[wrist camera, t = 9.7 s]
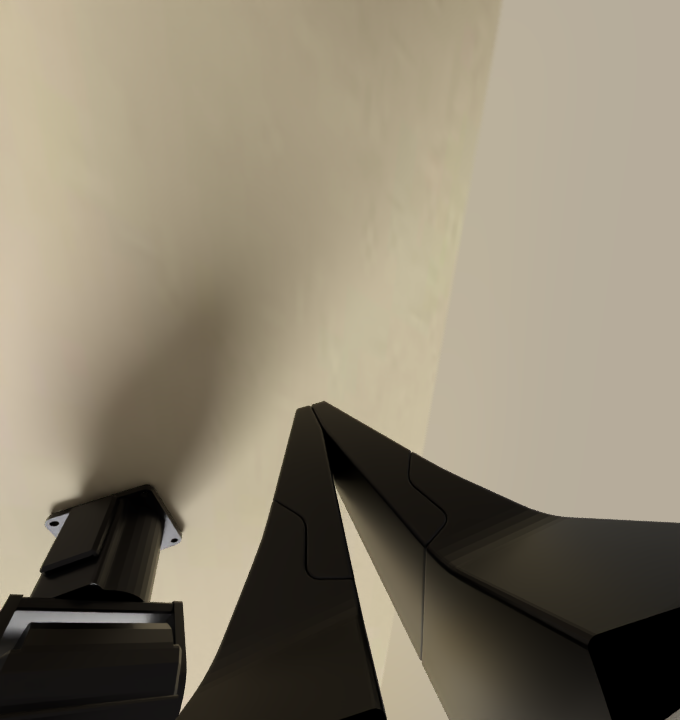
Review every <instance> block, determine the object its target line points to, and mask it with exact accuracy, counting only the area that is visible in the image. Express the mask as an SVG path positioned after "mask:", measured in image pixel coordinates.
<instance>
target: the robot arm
mask: <svg viewBox="0 0 680 720" xmlns="http://www.w3.org/2000/svg"><path fill="white" fill-rule="evenodd" d="M334 484H335V485H334ZM335 486H336V488H337V491H338V493H339V495H340V497H341V499H342V501H343V503H344V505H345V507H346V509H347V511H348V513H349V515H350V517H351V519H352V521H353V523H354V525H355V527H356V529H357V532H358V534H359V536H360V538H361V540H362V542H363V544H364V546H365V548H366V550H367V552H368V554H369V556H370V558H371V560H372V562H373V564H374V566H375V568H376V570H377V572H378V575H379V577H380V579H381V581H382V583H383V585H384V587H385V589H386V591H387V593H388V595H389V597H390V599H391V601H392V603H393V605H394V607H395V609H396V611H397V613H398V616H399V617H400V619H401V622H402V624H403V626H404V628H405V630H406V632H407V634H408V636H409V638H410V640H411V642H412V644H413V646H414V648H415V650H416V652H417V654H418V656H419V659H420V660H421V661H422V665H423V667H424V669H425V671H426V673H427V675H428V677H429V679H430V681H431V683H432V685H433V687H434V689H435V692H436V694H437V696H438V698H439V700H440V702H441V704H442V706H443V708H444V710H445V712H446V714H447V716H448V718H449V720H680V523H671V522H652V521H631V520H613V519H593V518H573V517H561V516H555V515H550V514H546V513H542V512H539V511H536V510H533V509H530V508H528V507H525V506H523V505H521V504H518V503H516V502H514V501H512V500H510V499H507V498H505V497H503V496H501V495H499V494H496V493H494V492H492V491H490V490H488V489H485V488H483V487H481V486H479V485H476V484H474V483H472V482H470V481H468V480H465V479H463V478H461V477H459V476H457V475H455V474H453V473H451V472H449V471H447V470H445V469H443V468H441V467H439V466H437V465H435V464H434V463H432V462H430V461H428V460H426V459H424V458H423V457H421V456H419V455H417V454H416V453H414V452H411V451H410V450H409V449H407V448H405V447H403V446H402V445H400V444H398V443H396V442H395V441H393V440H391V439H389V438H388V437H386V436H384V435H383V434H381V433H379V432H377V431H376V430H374V429H372V428H370V427H369V426H367V425H365V424H364V423H362V422H360V421H358V420H357V419H355V418H353V417H351V416H350V415H348V414H346V413H344V412H343V411H341V410H339V409H338V408H336V407H334V406H332V405H331V404H329V403H327V402H325V401H322V402H319V403H316V404H313V405H312V406H305V407H302V408H298V409H297V410H296V413H295V417H294V421H293V425H292V428H291V432H290V436H289V440H288V444H287V448H286V452H285V455H284V459H283V463H282V467H281V471H280V475H279V479H278V482H277V486H276V490H275V494H274V498H273V502H272V505H271V509H270V513H269V516H268V520H267V523H266V527H265V530H264V533H263V537H262V540H261V543H260V545H259V548H258V551H257V553H256V556H255V559H254V562H253V564H252V567H251V569H250V572H249V574H248V577H247V580H246V582H245V585H244V587H243V590H242V592H241V595H240V597H239V600H238V602H237V605H236V607H235V610H234V612H233V615H232V617H231V620H230V622H229V625H228V627H227V630H226V633H225V635H224V637H223V640H222V642H221V645H220V647H219V649H218V652H217V654H216V656H215V658H214V660H213V662H212V664H211V666H210V668H209V670H208V672H207V674H206V675H205V677H204V679H203V681H202V682H201V684H200V685H199V687H198V689H197V690H196V692H195V693H194V695H193V696H192V698H191V699H190V700H189V702H188V703H187V704H186V706H185V707H184V709H183V710H182V711H181V713H180V714H179V712H180V709H181V704H182V700H183V695H184V689H185V683H186V672H187V669H186V647H185V632H184V616H183V602H182V601H173V602H172V603H163V602H150V599H151V594H152V589H153V584H154V579H155V574H156V569H157V564H158V559H159V554H160V550H162V549H165V548H168V547H171V546H173V545H176V544H178V543H180V542H181V539H182V533H181V532H180V530H179V528H178V527H177V525H176V523H175V522H174V520H173V519H172V517H171V515H170V514H169V512H168V510H167V509H166V507H165V505H164V504H163V502H162V500H161V499H160V497H159V496H158V494H157V492H156V491H155V489H154V488H153V487H152V486H150V485H143V486H140V487H137V488H134V489H130V490H127V491H124V492H121V493H118V494H114V495H111V496H108V497H105V498H102V499H99V500H95V501H92V502H89V503H86V504H83V505H79V506H76V507H73V508H70V509H67V510H64V511H60V512H57V513H54V514H52V515H50V516H49V517H48V518H47V520H46V522H45V526H46V528H47V529H48V530H49V531H50V532H51V533H52V534H53V535H54V536H55V537H56V539H55V541H54V543H53V545H52V547H51V549H50V551H49V553H48V555H47V557H46V559H45V560H44V562H43V564H42V566H41V568H40V572H41V573H42V574H41V576H40V578H39V580H38V582H37V584H36V586H35V588H34V590H33V592H32V594H31V596H30V597H23V595H17V594H10V596H9V597H8V599H7V601H6V602H5V604H4V606H3V607H2V609H1V610H0V720H387V717H386V713H385V709H384V705H383V700H382V697H381V692H380V688H379V683H378V679H377V675H376V671H375V667H374V662H373V658H372V654H371V650H370V646H369V641H368V637H367V633H366V629H365V624H364V620H363V616H362V611H361V607H360V602H359V598H358V593H357V588H356V584H355V579H354V574H353V570H352V565H351V560H350V556H349V551H348V546H347V541H346V537H345V532H344V527H343V523H342V518H341V513H340V509H339V504H338V499H337V494H336V490H335ZM144 492H148V493H144Z"/></svg>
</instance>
